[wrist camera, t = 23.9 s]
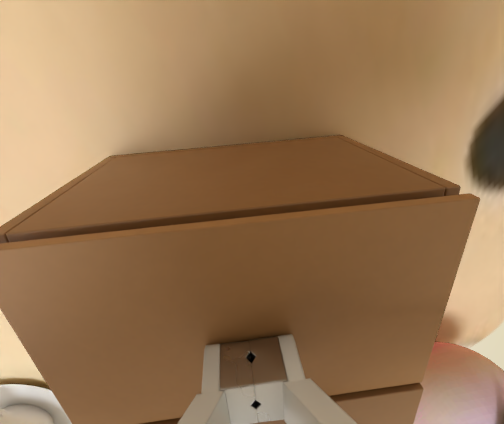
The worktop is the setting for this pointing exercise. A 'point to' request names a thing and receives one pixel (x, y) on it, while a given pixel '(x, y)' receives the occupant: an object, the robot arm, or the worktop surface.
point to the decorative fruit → (461, 388)
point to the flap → (234, 301)
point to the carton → (237, 208)
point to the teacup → (30, 406)
